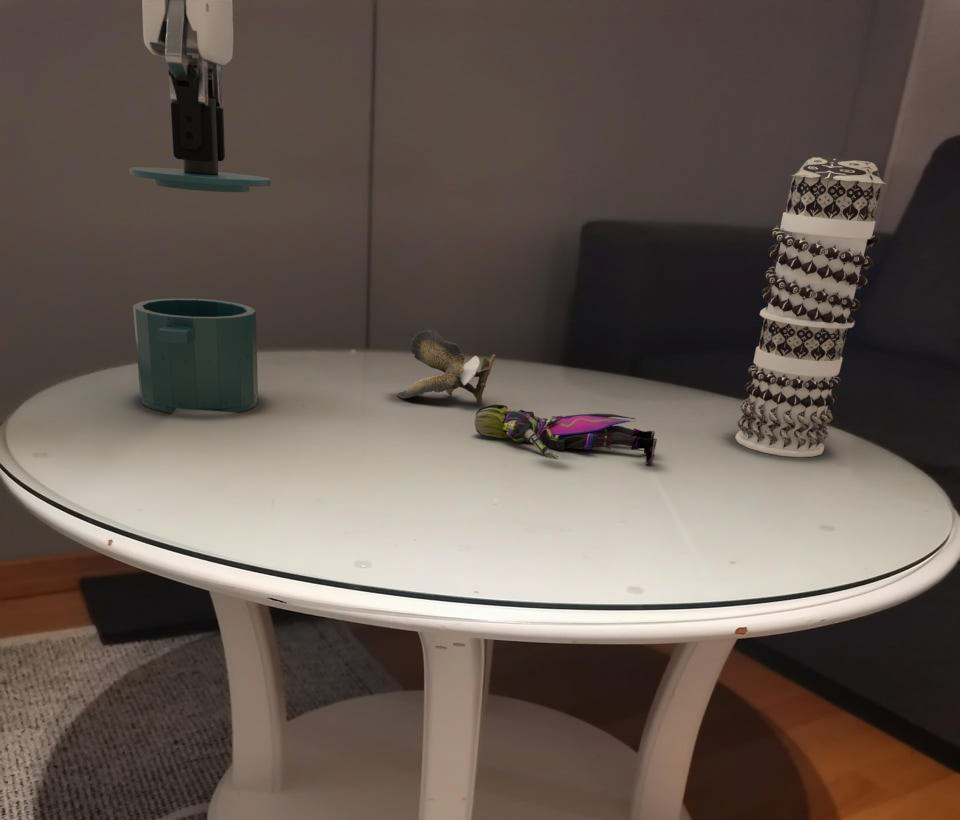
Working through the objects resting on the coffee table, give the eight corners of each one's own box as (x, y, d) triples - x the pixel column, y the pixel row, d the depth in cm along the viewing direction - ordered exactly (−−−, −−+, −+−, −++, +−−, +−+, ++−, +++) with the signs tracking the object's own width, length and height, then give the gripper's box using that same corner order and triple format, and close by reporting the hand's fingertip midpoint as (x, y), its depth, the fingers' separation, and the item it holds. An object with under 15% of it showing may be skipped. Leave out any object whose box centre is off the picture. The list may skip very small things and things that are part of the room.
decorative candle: (751, 426, 101) (806, 157, 89) (840, 446, 96) (910, 165, 85) (716, 442, 94) (770, 153, 82) (809, 464, 89) (881, 161, 78)
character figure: (646, 449, 91) (477, 425, 91) (654, 409, 89) (481, 385, 90) (653, 479, 83) (467, 452, 83) (662, 436, 81) (472, 409, 81)
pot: (116, 417, 85) (107, 317, 81) (167, 378, 99) (161, 291, 96) (238, 427, 86) (234, 327, 82) (271, 386, 100) (269, 299, 96)
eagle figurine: (489, 382, 104) (409, 358, 104) (501, 332, 98) (415, 306, 98) (473, 434, 101) (389, 409, 100) (484, 386, 94) (395, 359, 94)
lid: (110, 184, 77) (102, 87, 74) (154, 179, 87) (148, 94, 84) (255, 197, 77) (253, 101, 74) (281, 191, 87) (280, 106, 84)
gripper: (168, -94, 80) (181, 155, 88) (99, -147, 66) (122, 157, 74) (260, -85, 80) (264, 162, 89) (211, -136, 66) (221, 166, 74)
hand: (199, 157), depth 81 cm, fingers closed on lid, 2 cm apart
